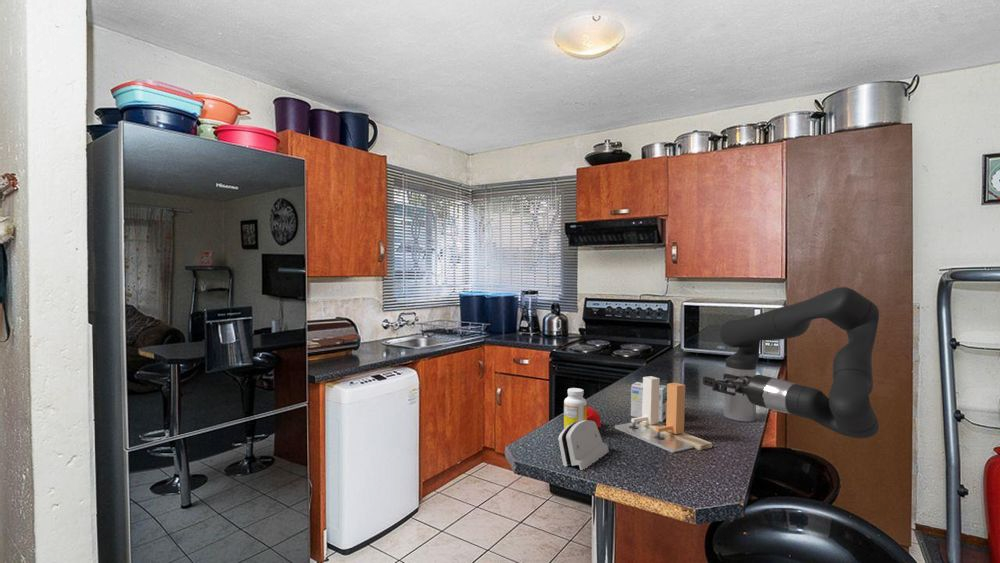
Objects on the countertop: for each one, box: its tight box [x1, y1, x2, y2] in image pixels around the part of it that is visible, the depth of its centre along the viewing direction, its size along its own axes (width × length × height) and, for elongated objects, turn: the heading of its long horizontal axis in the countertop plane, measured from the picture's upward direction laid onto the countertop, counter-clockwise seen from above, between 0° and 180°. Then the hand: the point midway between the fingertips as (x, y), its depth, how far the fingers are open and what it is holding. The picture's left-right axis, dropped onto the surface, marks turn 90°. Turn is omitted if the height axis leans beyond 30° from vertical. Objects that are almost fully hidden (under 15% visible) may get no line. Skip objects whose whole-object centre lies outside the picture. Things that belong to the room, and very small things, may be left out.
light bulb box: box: [630, 381, 667, 423], centre depth 154 cm, size 11×7×11 cm, turn 58°
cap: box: [586, 406, 602, 429], centre depth 142 cm, size 8×6×6 cm
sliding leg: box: [656, 382, 686, 437], centre depth 133 cm, size 9×4×14 cm, turn 119°
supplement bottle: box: [563, 387, 588, 430], centre depth 136 cm, size 7×7×13 cm
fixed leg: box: [630, 375, 661, 427], centre depth 141 cm, size 9×4×14 cm, turn 119°
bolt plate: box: [614, 422, 693, 454], centre depth 133 cm, size 8×22×1 cm, turn 29°
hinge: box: [558, 420, 610, 471], centre depth 118 cm, size 17×5×10 cm, turn 144°
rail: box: [638, 421, 713, 451], centre depth 135 cm, size 5×22×1 cm, turn 29°
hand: (714, 378), depth 124 cm, fingers open, 8 cm apart
